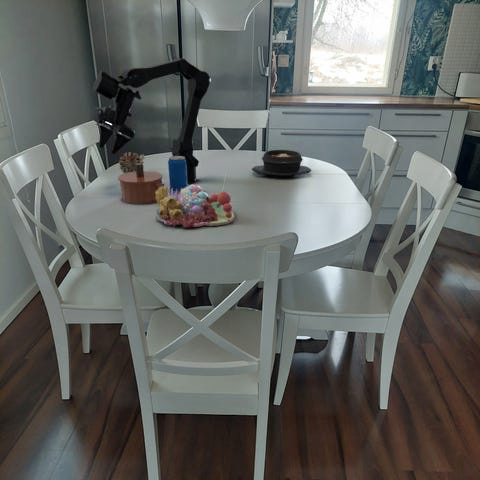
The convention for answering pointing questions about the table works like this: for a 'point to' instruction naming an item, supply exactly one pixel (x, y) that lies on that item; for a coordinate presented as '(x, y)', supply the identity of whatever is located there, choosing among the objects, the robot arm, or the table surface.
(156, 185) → the pot
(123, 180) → the pot lid
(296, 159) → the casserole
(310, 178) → the table surface
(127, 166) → the pine cone
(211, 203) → the candy landscape model
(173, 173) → the beverage can
